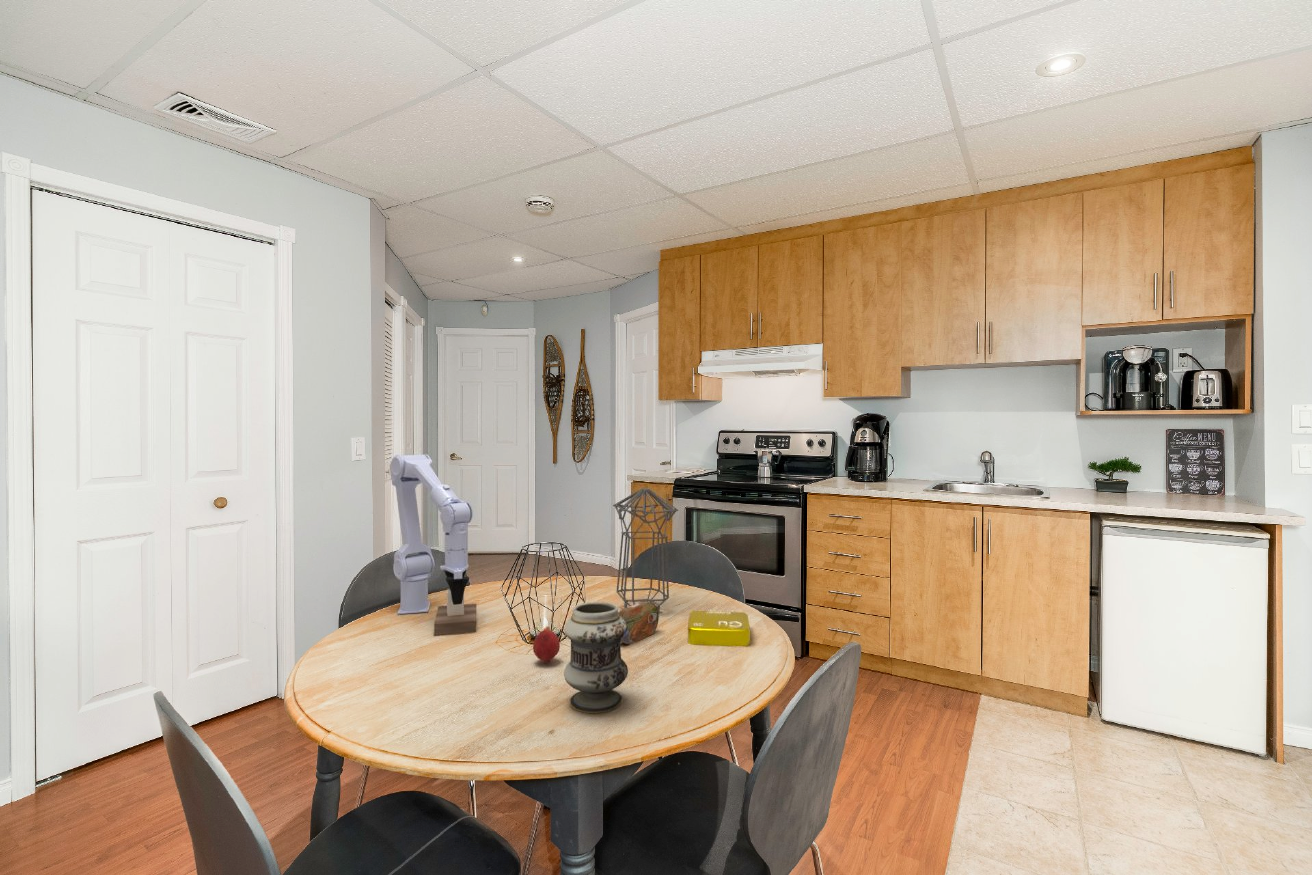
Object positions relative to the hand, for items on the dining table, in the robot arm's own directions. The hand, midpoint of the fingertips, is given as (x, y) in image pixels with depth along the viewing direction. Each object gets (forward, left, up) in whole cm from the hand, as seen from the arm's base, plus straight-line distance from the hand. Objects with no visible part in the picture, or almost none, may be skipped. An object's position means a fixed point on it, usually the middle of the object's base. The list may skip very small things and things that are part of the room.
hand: (456, 600), depth 161 cm
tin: (+23, +43, -7) cm, 49 cm away
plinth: (0, 0, -6) cm, 6 cm away
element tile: (+26, +63, -7) cm, 69 cm away
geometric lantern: (+1, +51, -7) cm, 51 cm away
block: (0, 0, -3) cm, 3 cm away
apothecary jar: (+55, +27, -7) cm, 62 cm away
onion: (+33, +20, -7) cm, 39 cm away
